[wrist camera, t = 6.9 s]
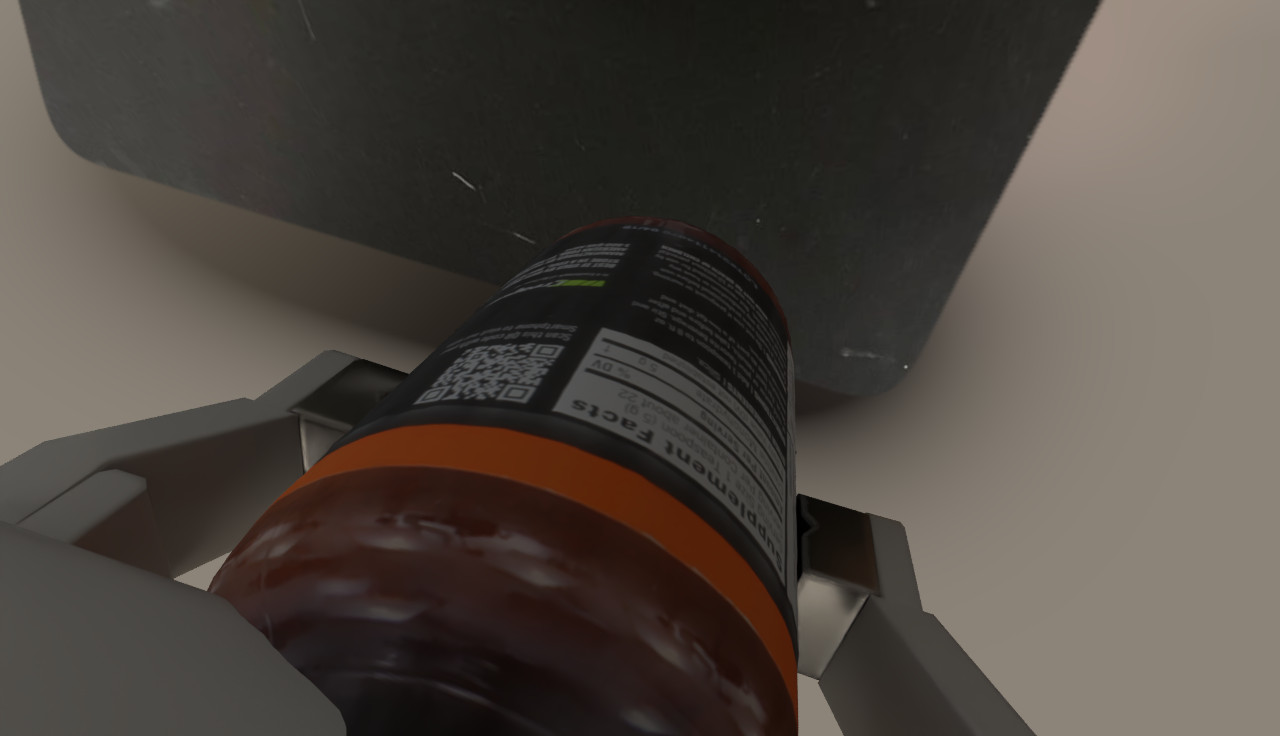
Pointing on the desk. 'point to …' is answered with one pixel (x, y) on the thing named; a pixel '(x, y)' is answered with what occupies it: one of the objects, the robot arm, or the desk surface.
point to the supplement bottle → (558, 512)
